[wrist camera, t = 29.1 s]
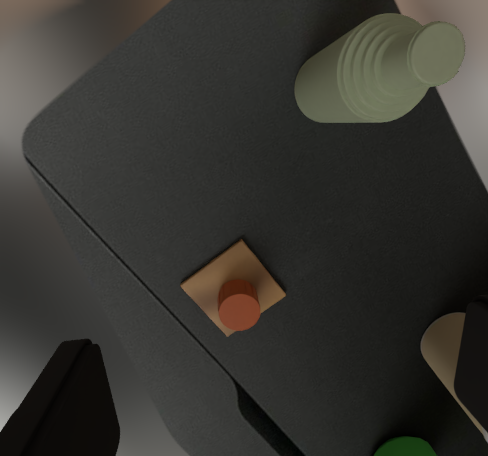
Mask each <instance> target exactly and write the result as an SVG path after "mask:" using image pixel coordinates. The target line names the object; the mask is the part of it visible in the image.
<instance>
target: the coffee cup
mask: <svg viewBox="0 0 488 456" xmlns="http://www.w3.org/2000/svg"><path fill="white" fill-rule="evenodd" d="M465 314H466V313H461V312H456V313H450V314H447V315H444V316H442V317H440V318H438V319H437V320H435V321H434V322H433V323H432V324H431V325H430V326H429V327H428V328H427V330H426V331H425V333H424V335H423V337H422V340H421V352H422V355H423V357H424V358H425V360H426V361H427V363H428V364H429V366H430V367H431V368H432V370H433V371H434V372H435V373H436V375H437V376H438V377H439V379H440V380H441V381H442V383H443V384H444V385H445V386H446V388H447V389H448V390H449V392H450V393H451V394H452V396H453V397H454V398H455V399H456V401H457V402H458V403H459V405H460V406H461V407H462V408H463V410H464V411H465V412H466V414H467V415H468V416H469V417H470V419H471V420H472V421H473V423H474V424H475V425H476V426H477V428H478V429H479V430H480V431H481V432H482V434H483V435H484V437H485V439H486V441H487V442H488V433H487V432H486V430H485V429H484V428H483V427H482V426H481V425H480V424H479V422H478V421H477V420H476V419H475V418H474V417H473V415H472V414H471V413H470V412H469V411H468V410H467V409H466V407H465V406H464V405H463V404H462V403H461V402H460V400H459V399H458V398H457V396H456V394H455V391H454V378H455V372H456V367H457V361H458V355H459V349H460V343H461V337H462V332H463V326H464V320H465Z"/></svg>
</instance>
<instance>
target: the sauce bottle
mask: <svg viewBox="0 0 488 456" xmlns="http://www.w3.org/2000/svg"><path fill="white" fill-rule="evenodd" d="M464 54H465V42H464V38H463V35H462V34H461V32H460V31H459V29H457V27H456V26H454V25H452V24H450V23H447V22H440V21H438V22H431V23H429V24H426V25H424V26H422V25H421V24H420V23H418V22H417V21H416V20H414V19H412V18H410V17H407V16H404V15H401V14H395V13H385V14H380V15H377V16H374V17H371V18H369V19H367V20H366V21H364V22H363V23H361V24H360V25H358V26H357V27H355V28H354V29H352V30H351V31H349V32H348V33H346V34H345V35H343V36H342V37H341V38H339V39H338V40H336V41H335V42H333V43H332V44H330V45H329V46H327V47H326V48H324V49H323V50H321V51H320V52H318V53H317V54H315V55H314V56H312V57H311V58H309V59H308V60H307V61H306V62H305V63H304V64H303V66H302V67H301V69H300V70H299V72H298V74H297V77H296V81H295V98H296V102H297V104H298V106H299V108H300V110H301V111H302V112H303V113H304V114H305V115H306V116H307V117H308V118H310V119H311V120H314V121H316V122H321V123H357V122H387V121H392V120H395V119H397V118H399V117H401V116H403V115H405V114H406V113H408V112H409V111H410V110H411V109H413V108H414V107H415V106H416V105H417V104H418V103H419V102H420V100H421V99H422V98H423V97H424V95H425V94H426V92H427V90H428V88H429V87H433V86H439V85H441V84H444V83H446V82H448V81H449V80H450V79H452V78H453V77H454V76H455V75H456V74H457V72H458V69H459V67H460V66H461V63H462V61H463V58H464Z"/></svg>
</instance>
